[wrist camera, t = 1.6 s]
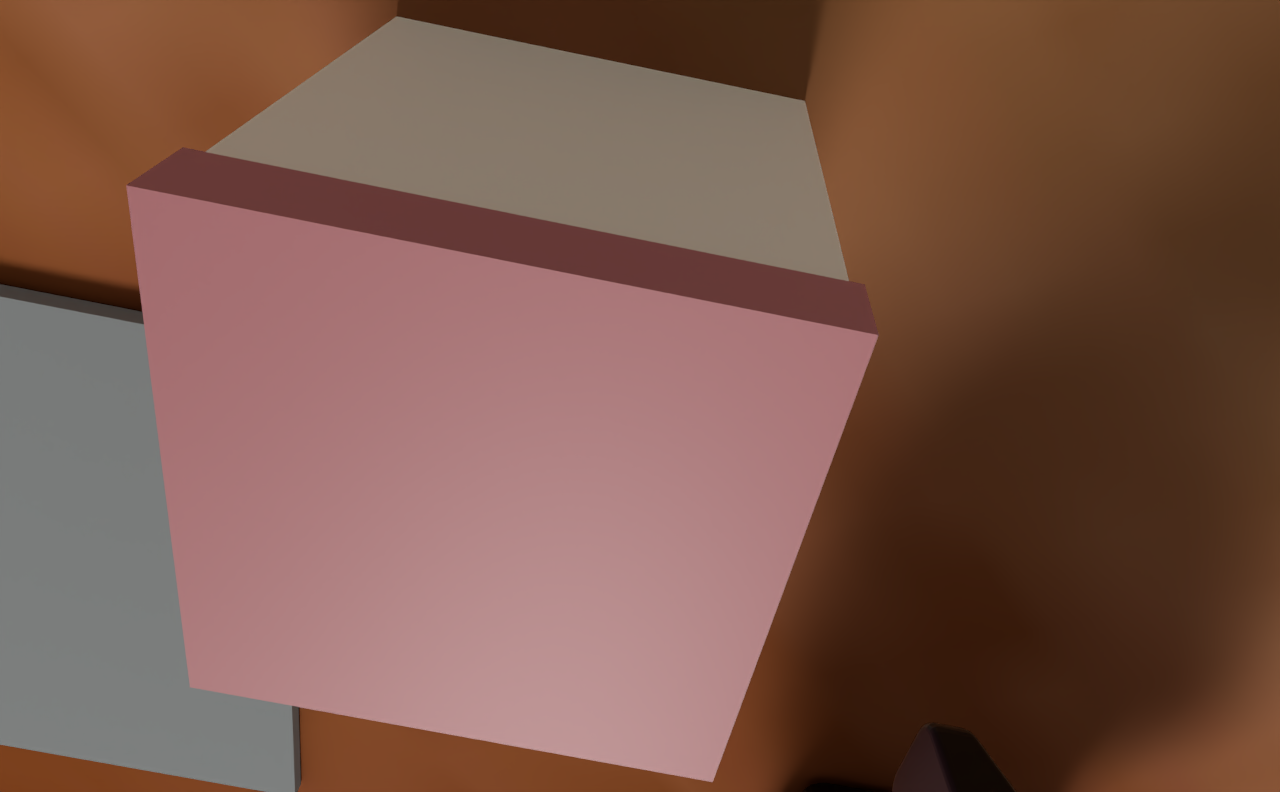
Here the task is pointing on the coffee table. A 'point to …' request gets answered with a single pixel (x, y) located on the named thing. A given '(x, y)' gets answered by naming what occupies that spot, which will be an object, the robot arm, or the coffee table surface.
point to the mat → (103, 564)
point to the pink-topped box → (497, 392)
